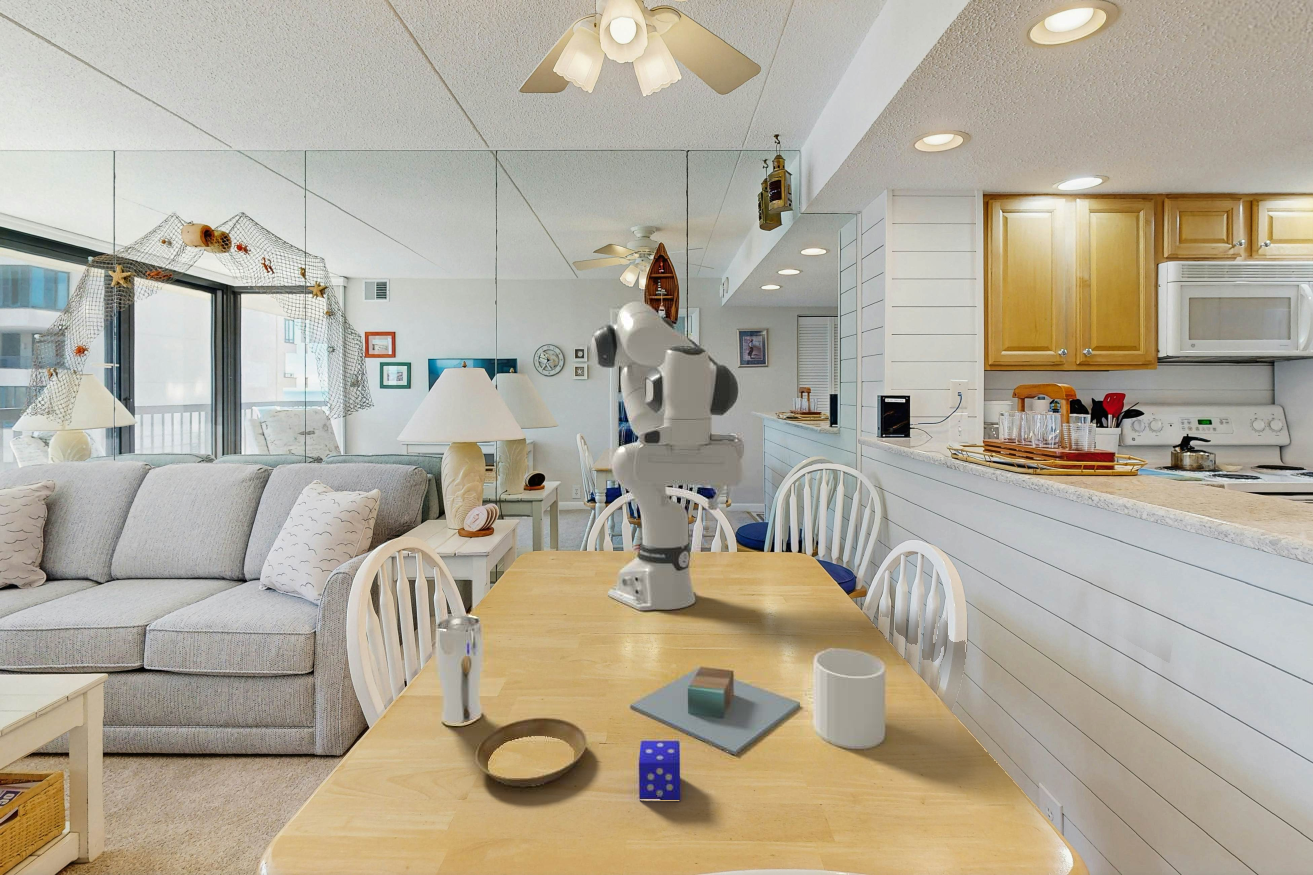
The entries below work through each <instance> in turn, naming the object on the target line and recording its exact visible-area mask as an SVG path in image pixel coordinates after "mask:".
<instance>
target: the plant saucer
mask: <svg viewBox="0 0 1313 875" xmlns="http://www.w3.org/2000/svg"><path fill="white" fill-rule="evenodd" d="M528 736H529V737H531V736H545V737H546V736H547V737H552V738H557V739H560V740H563V741H565V742H566V743H568V744H569V746H570V747H571V748H573V750H574V760H573V762H572V763H570V764H569V765H567V766H565V767H564V768H562V769H560V770H557V771H555V772H552V773H549V774H546V775H542V776H538V777H531V778H506V777H501V776H497V775H494V774H492V773H490V772H489V770H488V761H489V759H490V757H491V755H492V754H493V752H494V751H495V750H496V749H497V748H499V747H500V746H501V745H503V744H504V743H506V742H508V741H512V740H515V739H519V738H523V737H528ZM587 739H588V738H587V736H586V734H585V732H584V731H583V729H582V728H581V727H579V726H578V725H577V724H575V723H574V722H571V721H568V720H565V719H562V718H555V717H532V718H525V719H521V720H516V721H515V722H514V721H513V722H511V723H508V724H505V725H503V726H501V727H498V728H497V729H495V730H493V731H492V732H490V733H489V734H487V735H486V736H485V737H484V738H483V739H482V740H481V741H480V743H479V744H478V746H477V748H476V751H475V762H476V764H477V765H478V767H479V768H480V769H481V770H482V771H483V772H484V773H485V774H486V775H488V776H489V777H490V778H492V779H493V780H495V781H496V782H499V783H500V782H501V784H503V783H504V784H503V785H505V784H507V785H506V786H508V785H512V786H511V787H513V786H532V785H538V784H542V785H544V784H543V783H546V782H549V781H551V780H553V781H555V780H557V779H558V777H559V778H560V777H562V776H563V775H565V774H566V773H567V772H568V771H569V770H570V769H572V767H574V765H575V764H576V763H577V761H579V760H580V758H581V757H582V755H583V754H584V752H585V750H586V747H587V743H588V740H587ZM561 775H562V776H561ZM556 778H557V779H556ZM554 779H555V780H554ZM551 782H552V781H551ZM549 783H550V782H549ZM546 784H547V783H546Z"/></svg>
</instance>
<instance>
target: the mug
mask: <svg viewBox="0 0 1313 875" xmlns="http://www.w3.org/2000/svg"><path fill="white" fill-rule="evenodd" d="M813 729H814V731H815V733H816V734H817V735H818V737H820V738H821V739H822V740H824V741H826V742H827V743H828V744H832V745H833V746H835V747H840V748H843V749H849V750H866V749H867V748H868V749H872V748H874V747H877V746H879V745H880V744H881V743H882V742H883V741H884V739H885V736H886V664H885V663H884V661H883V660H881V659H880V658H879V657H878V656H875V655H873V654H871V653H868V652H864V651H861V650H857V649H856V650H855V649H850V648H849V649H848V648H836V647H829V648H828V647H827V648H826V650H825V649H824V650H821V651H819V652H818V653H816V654H815V655H814V656H813Z"/></svg>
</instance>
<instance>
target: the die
mask: <svg viewBox="0 0 1313 875" xmlns="http://www.w3.org/2000/svg"><path fill="white" fill-rule="evenodd" d="M680 744H681V743H680V741H679V740H641V741H640V745H639V746H640V748H639V758H638V790H639V791H638V792H639V794H638V798H639V799H660V800H680V801H681V754H680V753H681V751H680V749H681V748H680V746H681V745H680Z"/></svg>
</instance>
